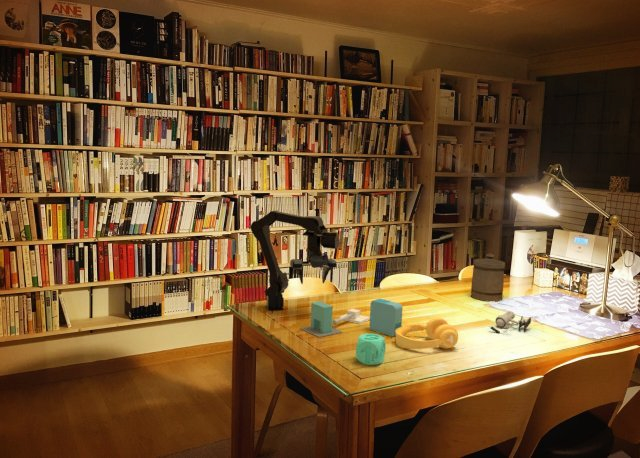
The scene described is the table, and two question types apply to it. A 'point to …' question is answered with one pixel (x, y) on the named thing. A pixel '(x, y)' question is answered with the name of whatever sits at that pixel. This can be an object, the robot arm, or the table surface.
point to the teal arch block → (321, 316)
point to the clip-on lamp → (506, 318)
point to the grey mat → (317, 331)
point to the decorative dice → (370, 349)
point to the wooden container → (488, 279)
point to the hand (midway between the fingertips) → (312, 283)
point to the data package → (385, 316)
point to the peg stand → (352, 317)
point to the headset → (435, 330)
